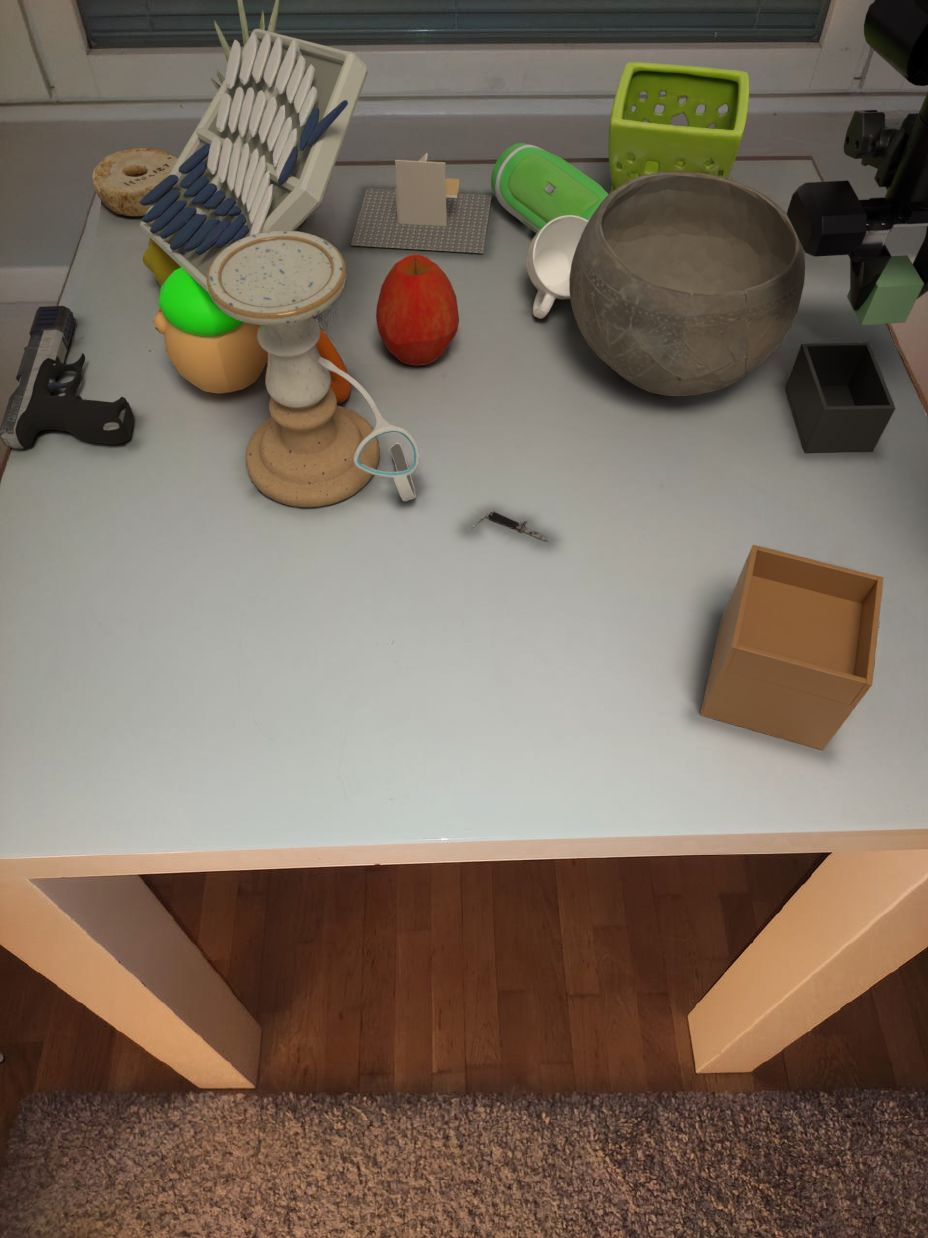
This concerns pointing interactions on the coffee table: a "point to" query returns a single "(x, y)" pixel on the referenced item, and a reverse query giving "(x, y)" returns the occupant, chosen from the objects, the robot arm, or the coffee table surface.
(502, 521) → the knife
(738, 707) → the box
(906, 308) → the block
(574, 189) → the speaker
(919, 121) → the robot arm
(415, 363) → the apple
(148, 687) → the coffee table surface
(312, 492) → the candle holder
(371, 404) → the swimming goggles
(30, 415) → the handgun
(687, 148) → the flower pot
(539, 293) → the cup
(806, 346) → the black open box
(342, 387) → the orange flat curved piece
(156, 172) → the stone disc
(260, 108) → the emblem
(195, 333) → the figurine
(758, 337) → the bowl
